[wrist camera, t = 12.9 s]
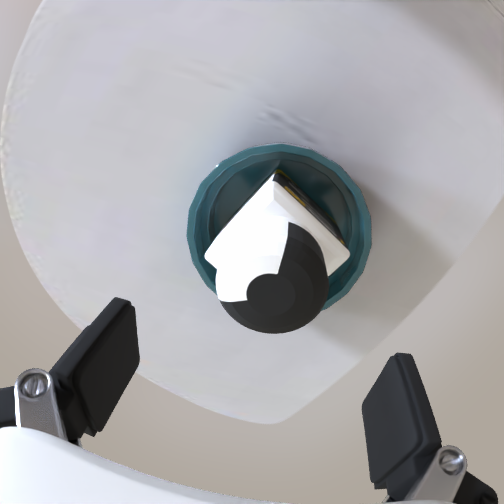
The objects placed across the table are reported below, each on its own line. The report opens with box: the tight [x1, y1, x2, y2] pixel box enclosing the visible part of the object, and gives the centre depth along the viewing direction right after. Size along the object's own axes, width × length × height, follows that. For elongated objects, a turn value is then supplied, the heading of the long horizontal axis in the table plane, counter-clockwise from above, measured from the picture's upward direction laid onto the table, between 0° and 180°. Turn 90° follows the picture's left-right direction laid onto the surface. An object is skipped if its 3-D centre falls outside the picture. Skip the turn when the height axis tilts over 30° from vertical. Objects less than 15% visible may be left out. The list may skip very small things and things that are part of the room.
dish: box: [187, 142, 372, 311], centre depth 25 cm, size 14×14×4 cm
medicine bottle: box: [205, 169, 350, 334], centre depth 21 cm, size 7×7×12 cm
